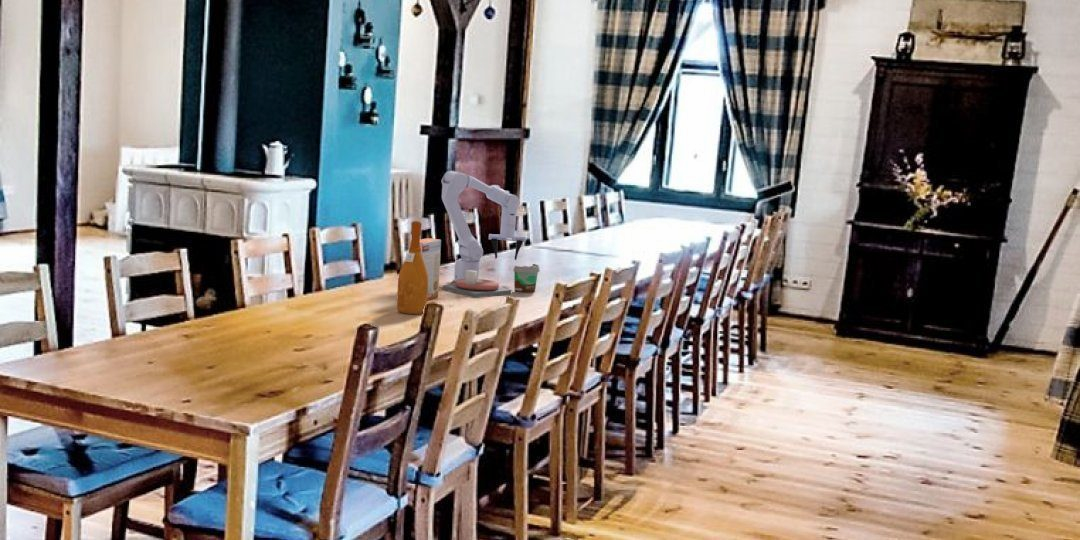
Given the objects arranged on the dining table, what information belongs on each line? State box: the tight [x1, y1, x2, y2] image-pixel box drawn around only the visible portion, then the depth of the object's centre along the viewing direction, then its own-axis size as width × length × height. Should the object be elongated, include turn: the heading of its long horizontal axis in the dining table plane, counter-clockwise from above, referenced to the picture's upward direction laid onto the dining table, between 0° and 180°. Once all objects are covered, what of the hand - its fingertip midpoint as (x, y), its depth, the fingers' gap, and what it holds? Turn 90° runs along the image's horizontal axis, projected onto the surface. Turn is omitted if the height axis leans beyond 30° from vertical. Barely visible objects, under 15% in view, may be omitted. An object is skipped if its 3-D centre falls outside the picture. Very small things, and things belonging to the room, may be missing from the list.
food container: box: [513, 263, 541, 294], centre depth 413 cm, size 12×6×10 cm, turn 143°
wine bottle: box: [396, 220, 428, 315], centre depth 356 cm, size 10×10×30 cm
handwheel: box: [455, 270, 500, 290], centre depth 405 cm, size 16×16×6 cm
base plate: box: [442, 283, 512, 299], centre depth 406 cm, size 18×18×2 cm
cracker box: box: [408, 237, 442, 301], centre depth 381 cm, size 14×6×21 cm, turn 158°
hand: (505, 258), depth 430 cm, fingers open, 7 cm apart
